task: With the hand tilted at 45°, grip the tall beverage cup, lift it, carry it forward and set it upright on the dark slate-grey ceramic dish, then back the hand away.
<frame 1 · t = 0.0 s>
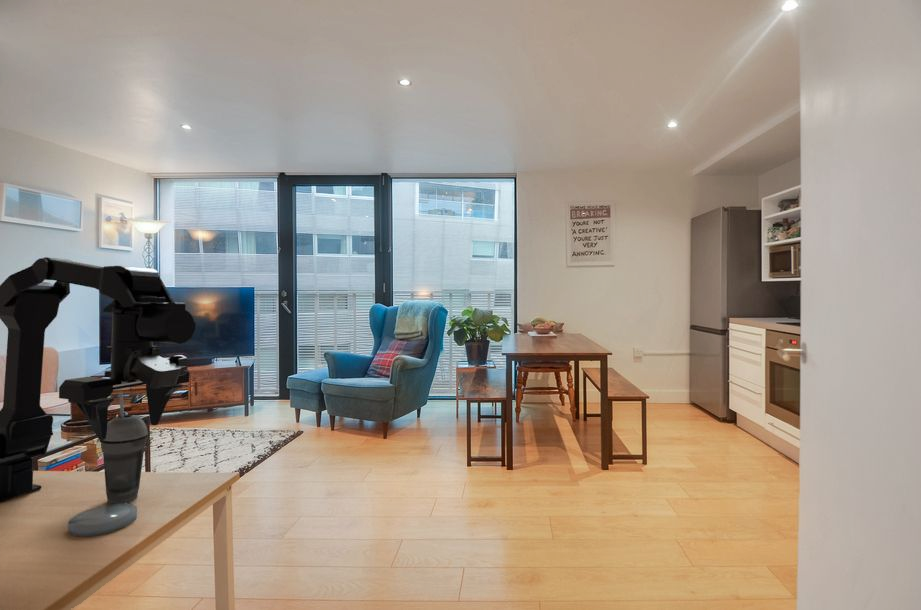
hand: (129, 431, 77), 15 cm above the table, tool pointing down, fingers open, 9 cm apart
beverage cup: (122, 500, 83), on the table
slate dish: (103, 522, 75), on the table
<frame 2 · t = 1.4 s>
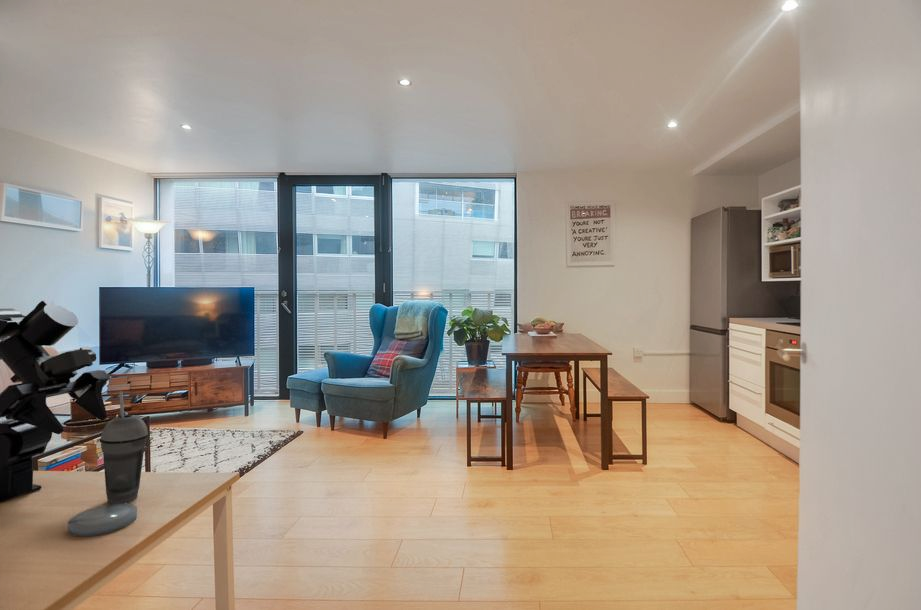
hand: (84, 425, 84), 13 cm above the table, tool tilted 45°, fingers open, 9 cm apart
nothing on the table moved.
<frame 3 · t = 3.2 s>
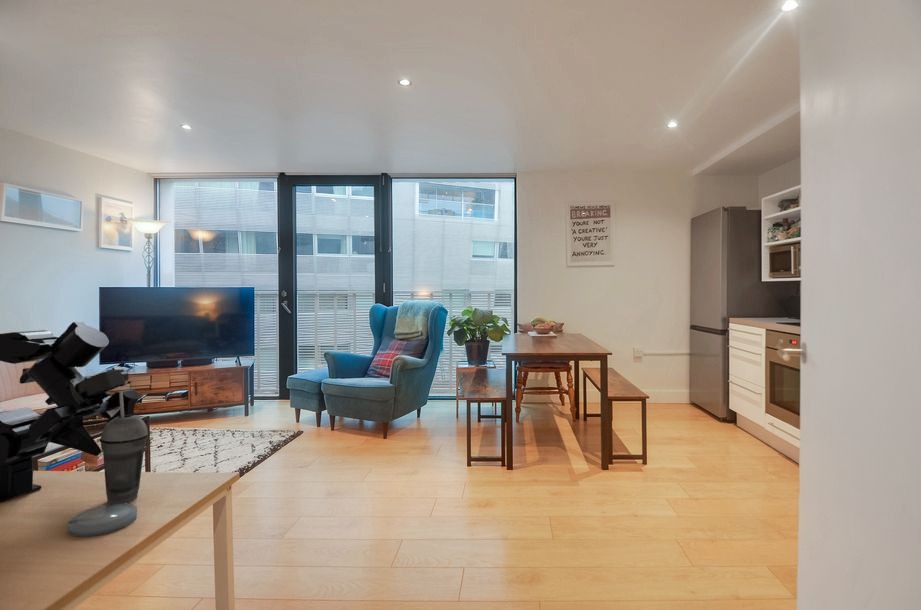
hand: (120, 445, 83), 10 cm above the table, tool tilted 45°, fingers open, 9 cm apart
nothing on the table moved.
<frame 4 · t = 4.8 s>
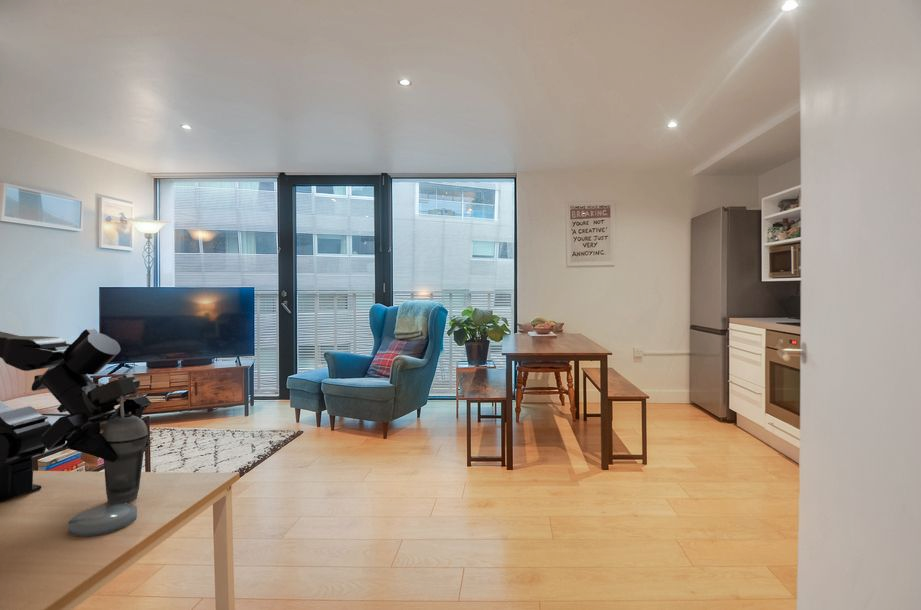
hand: (131, 453, 83), 9 cm above the table, tool tilted 45°, fingers closed on beverage cup, 7 cm apart
beverage cup: (122, 500, 83), on the table, touching gripper
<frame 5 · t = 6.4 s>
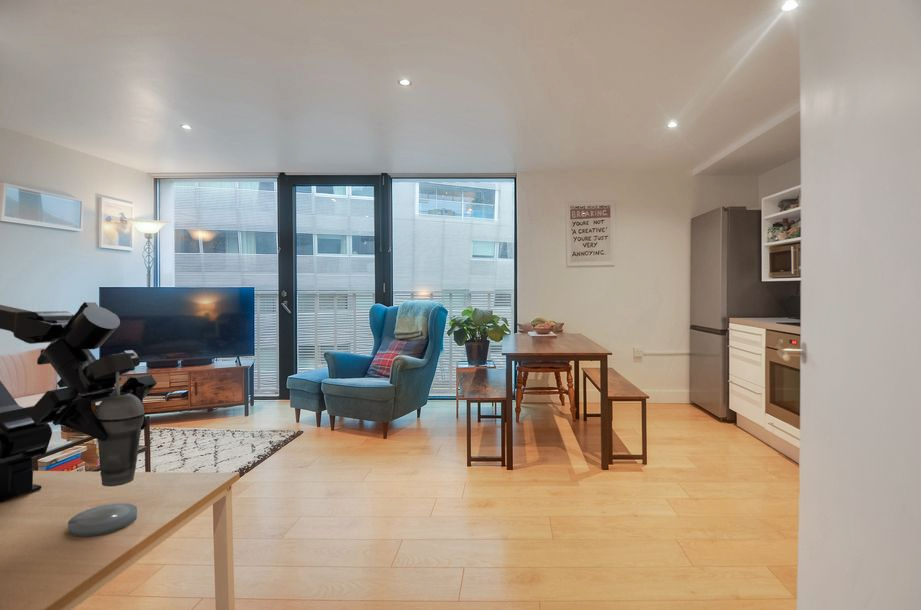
hand: (126, 433, 79), 14 cm above the table, tool tilted 45°, fingers closed on beverage cup, 7 cm apart
beverage cup: (118, 482, 79), point 5 cm above the table, touching gripper
when the fingers open (11 cm above the table, at t = 8.3 s): beverage cup stays where it is, resting on slate dish.
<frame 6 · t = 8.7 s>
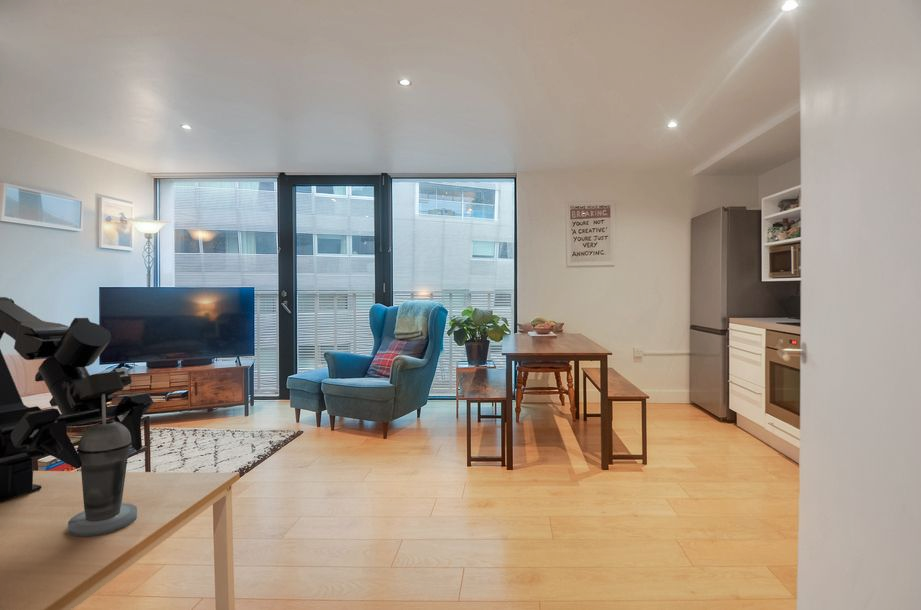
hand: (111, 457, 74), 11 cm above the table, tool tilted 45°, fingers open, 9 cm apart
beverage cup: (103, 516, 75), point 1 cm above the table, touching slate dish
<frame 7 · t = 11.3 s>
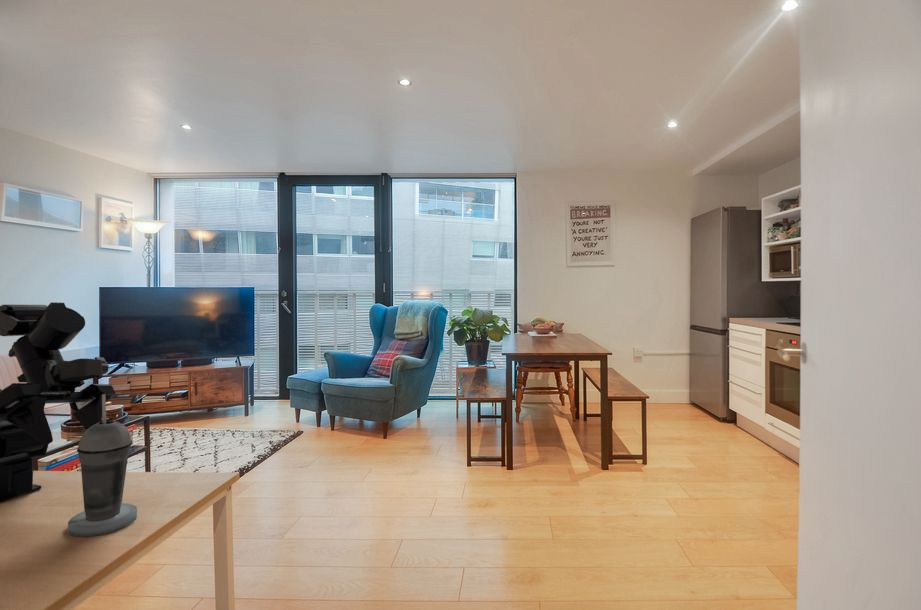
hand: (75, 440, 78), 12 cm above the table, tool tilted 35°, fingers open, 9 cm apart
nothing on the table moved.
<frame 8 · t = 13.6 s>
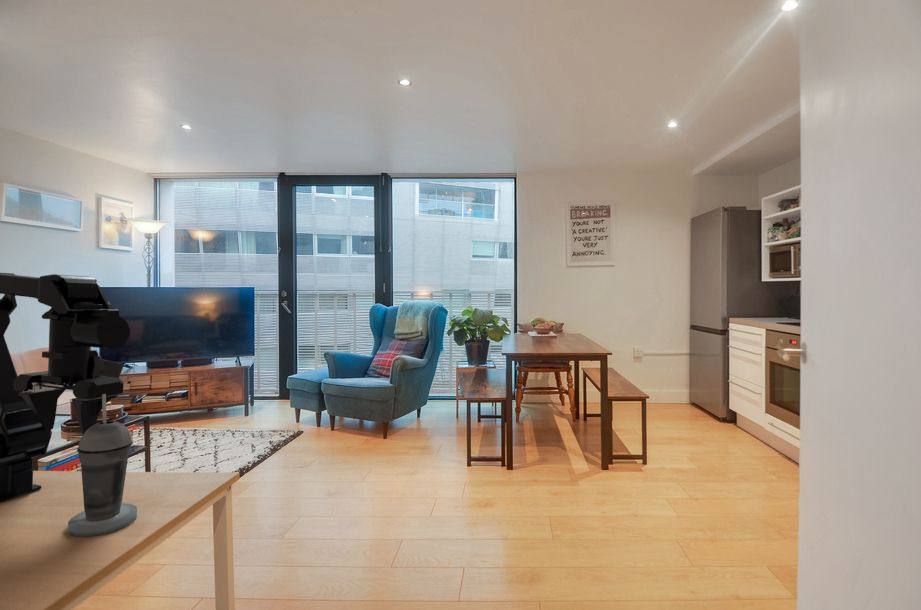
hand: (67, 432, 80), 13 cm above the table, tool pointing down, fingers open, 9 cm apart
nothing on the table moved.
at the end: beverage cup 0.1 cm from the slate dish (horizontally); beverage cup tilted 0°; beverage cup touching slate dish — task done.
